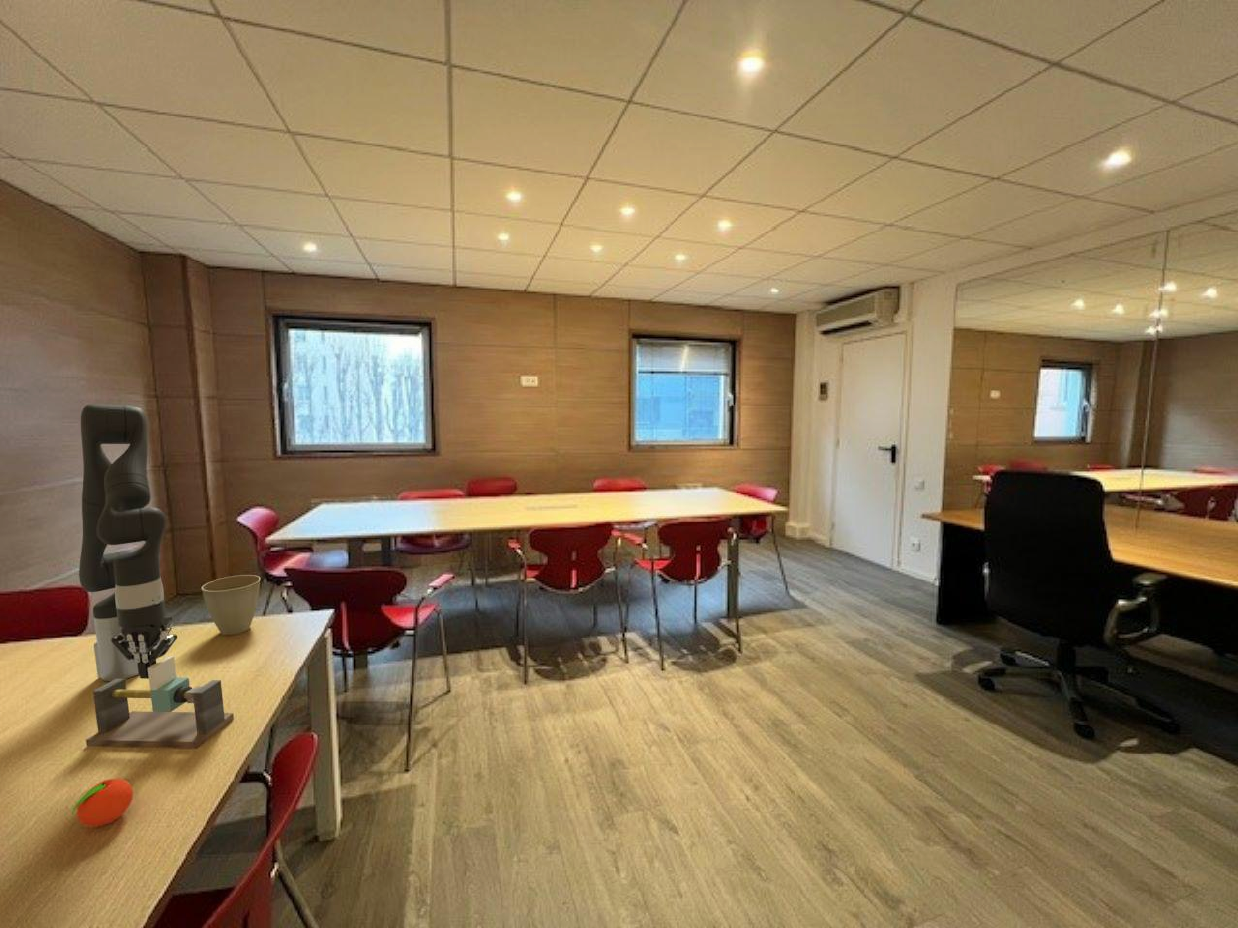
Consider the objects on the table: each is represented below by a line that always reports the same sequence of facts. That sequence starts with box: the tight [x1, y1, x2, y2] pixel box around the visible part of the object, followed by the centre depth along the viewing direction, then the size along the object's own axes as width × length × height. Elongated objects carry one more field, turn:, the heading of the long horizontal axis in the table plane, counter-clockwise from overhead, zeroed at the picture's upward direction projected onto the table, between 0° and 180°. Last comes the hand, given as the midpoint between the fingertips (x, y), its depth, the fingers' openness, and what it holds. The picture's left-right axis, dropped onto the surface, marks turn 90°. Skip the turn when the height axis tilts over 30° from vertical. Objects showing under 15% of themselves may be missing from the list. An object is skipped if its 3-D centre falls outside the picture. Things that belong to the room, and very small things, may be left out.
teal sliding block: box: [148, 655, 191, 712], centre depth 111 cm, size 4×5×10 cm
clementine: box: [70, 778, 134, 828], centre depth 88 cm, size 8×7×7 cm
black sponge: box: [163, 616, 174, 634], centre depth 157 cm, size 16×8×4 cm, turn 30°
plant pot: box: [201, 574, 261, 636], centre depth 162 cm, size 15×15×16 cm
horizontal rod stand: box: [85, 679, 235, 749], centre depth 112 cm, size 24×10×11 cm, turn 89°
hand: (148, 676), depth 111 cm, fingers closed
